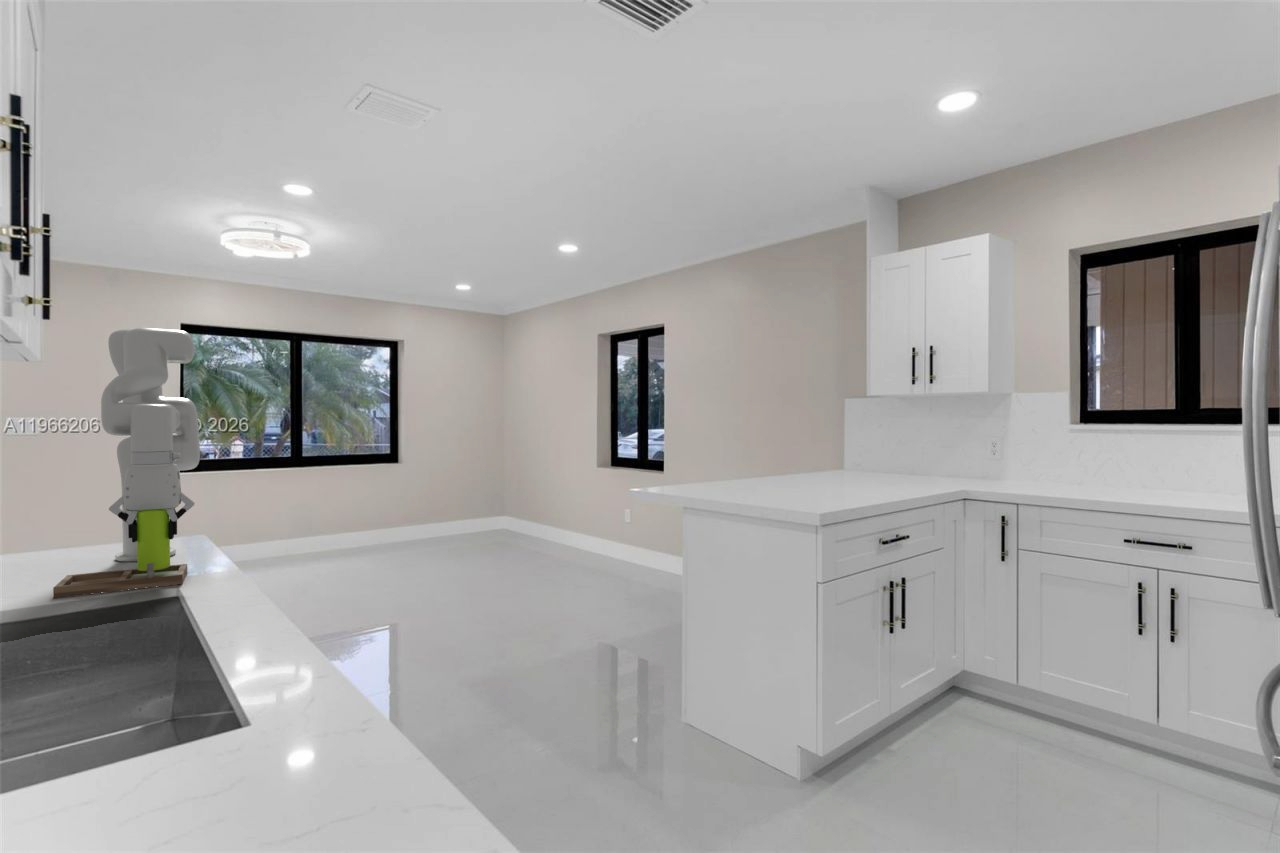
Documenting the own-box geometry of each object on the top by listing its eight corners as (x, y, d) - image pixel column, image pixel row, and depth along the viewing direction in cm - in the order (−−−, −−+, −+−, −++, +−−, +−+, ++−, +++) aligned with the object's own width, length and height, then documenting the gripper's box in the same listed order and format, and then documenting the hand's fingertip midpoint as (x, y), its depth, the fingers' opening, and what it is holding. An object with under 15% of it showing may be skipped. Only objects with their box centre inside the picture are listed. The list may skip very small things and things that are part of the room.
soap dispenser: (161, 571, 143) (160, 480, 142) (130, 570, 143) (129, 480, 142) (181, 564, 149) (179, 477, 148) (151, 564, 149) (149, 477, 148)
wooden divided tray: (67, 585, 142) (67, 561, 142) (187, 573, 153) (187, 551, 153) (53, 598, 132) (52, 573, 132) (182, 584, 143) (182, 561, 143)
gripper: (200, 456, 152) (201, 533, 153) (106, 459, 144) (107, 540, 144) (197, 459, 146) (198, 539, 146) (99, 462, 137) (100, 546, 138)
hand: (153, 538), depth 145 cm, fingers closed on soap dispenser, 5 cm apart
